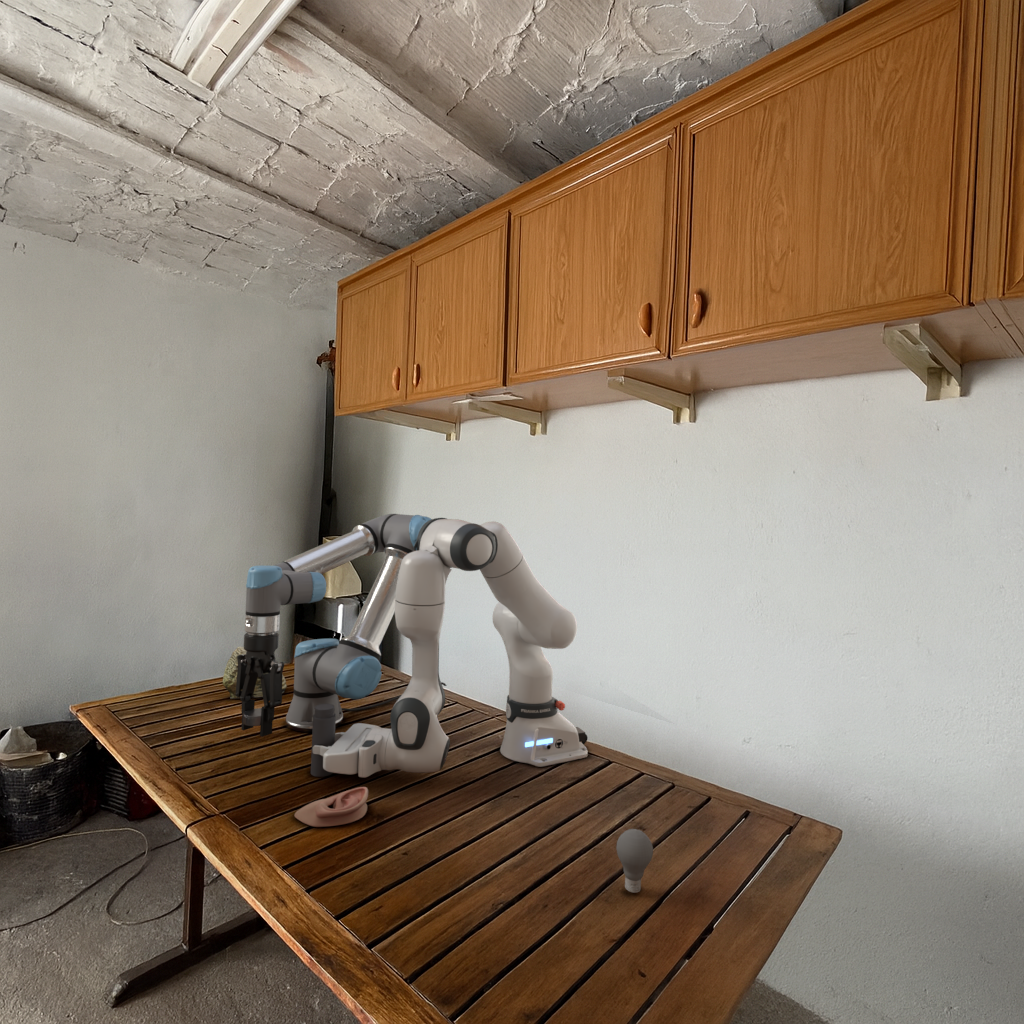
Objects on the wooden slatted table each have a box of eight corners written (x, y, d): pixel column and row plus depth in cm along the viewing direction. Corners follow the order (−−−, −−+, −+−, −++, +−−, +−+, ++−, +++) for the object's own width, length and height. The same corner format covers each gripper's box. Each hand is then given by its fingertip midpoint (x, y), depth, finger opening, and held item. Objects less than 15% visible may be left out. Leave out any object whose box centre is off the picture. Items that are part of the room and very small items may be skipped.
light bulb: (610, 879, 108) (613, 822, 108) (644, 879, 109) (647, 822, 109) (619, 902, 102) (622, 840, 102) (655, 901, 103) (658, 840, 103)
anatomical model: (286, 802, 122) (316, 777, 134) (285, 822, 122) (315, 795, 134) (350, 811, 120) (375, 785, 131) (349, 832, 120) (374, 804, 131)
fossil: (218, 695, 195) (220, 647, 195) (278, 685, 208) (279, 640, 207) (228, 703, 189) (230, 653, 188) (289, 692, 201) (290, 645, 201)
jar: (333, 766, 149) (335, 702, 148) (333, 775, 144) (336, 709, 144) (310, 768, 147) (313, 703, 147) (310, 777, 142) (313, 710, 142)
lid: (251, 728, 143) (252, 718, 143) (238, 721, 147) (238, 712, 147) (275, 722, 148) (275, 712, 148) (261, 715, 152) (262, 706, 152)
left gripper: (221, 629, 149) (216, 727, 149) (276, 641, 139) (270, 745, 140) (248, 624, 155) (244, 718, 155) (302, 636, 146) (297, 736, 146)
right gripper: (391, 719, 154) (336, 714, 156) (364, 751, 134) (301, 746, 135) (390, 744, 155) (335, 740, 156) (362, 781, 134) (300, 775, 136)
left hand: (256, 731), depth 147 cm, fingers closed on lid, 6 cm apart
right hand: (319, 743), depth 145 cm, fingers closed on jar, 5 cm apart
